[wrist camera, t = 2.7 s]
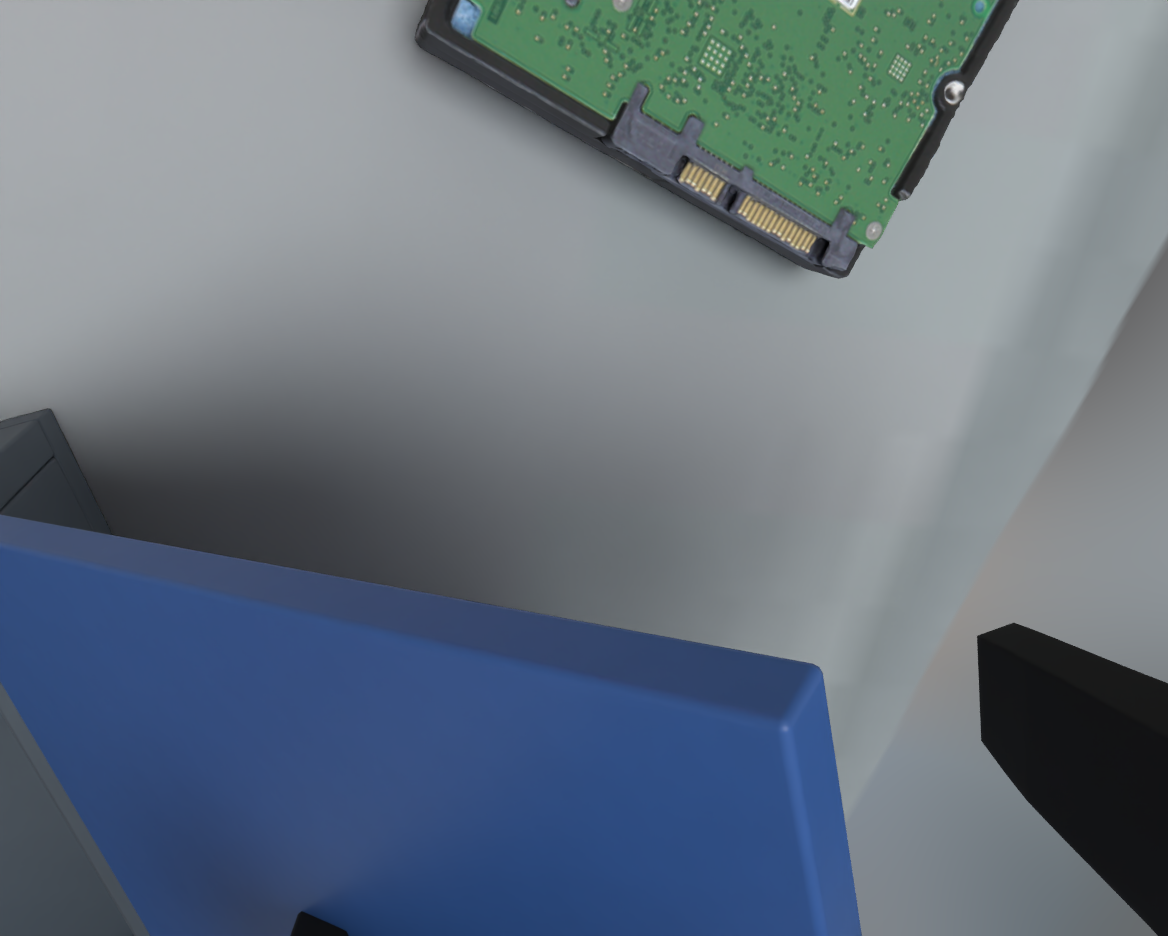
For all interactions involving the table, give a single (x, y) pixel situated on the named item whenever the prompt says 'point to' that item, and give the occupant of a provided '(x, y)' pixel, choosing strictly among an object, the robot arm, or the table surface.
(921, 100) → the disk drive
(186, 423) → the table surface
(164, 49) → the table surface
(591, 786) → the lid
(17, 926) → the box
